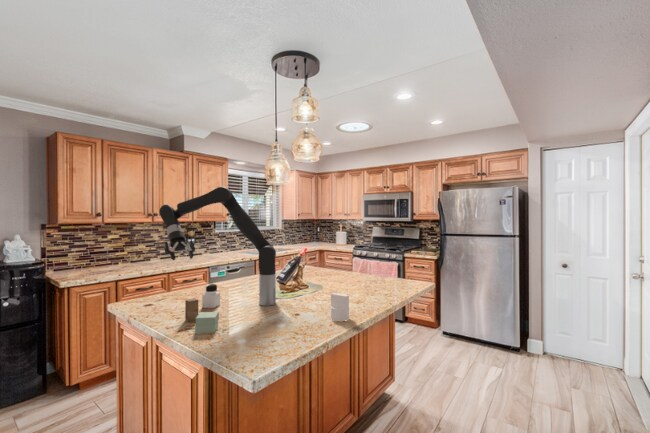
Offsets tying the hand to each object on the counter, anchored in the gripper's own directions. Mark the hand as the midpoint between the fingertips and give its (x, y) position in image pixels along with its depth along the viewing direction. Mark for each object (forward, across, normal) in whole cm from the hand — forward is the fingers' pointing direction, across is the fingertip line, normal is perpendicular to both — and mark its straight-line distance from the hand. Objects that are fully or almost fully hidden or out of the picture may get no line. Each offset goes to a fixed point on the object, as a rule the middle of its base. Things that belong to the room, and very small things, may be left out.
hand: (183, 258), depth 159 cm
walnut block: (+29, 0, +12) cm, 31 cm away
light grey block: (+62, +54, -22) cm, 85 cm away
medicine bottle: (+16, +17, +24) cm, 34 cm away
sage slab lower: (+41, 0, 0) cm, 41 cm away
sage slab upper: (+38, +1, -2) cm, 39 cm away
